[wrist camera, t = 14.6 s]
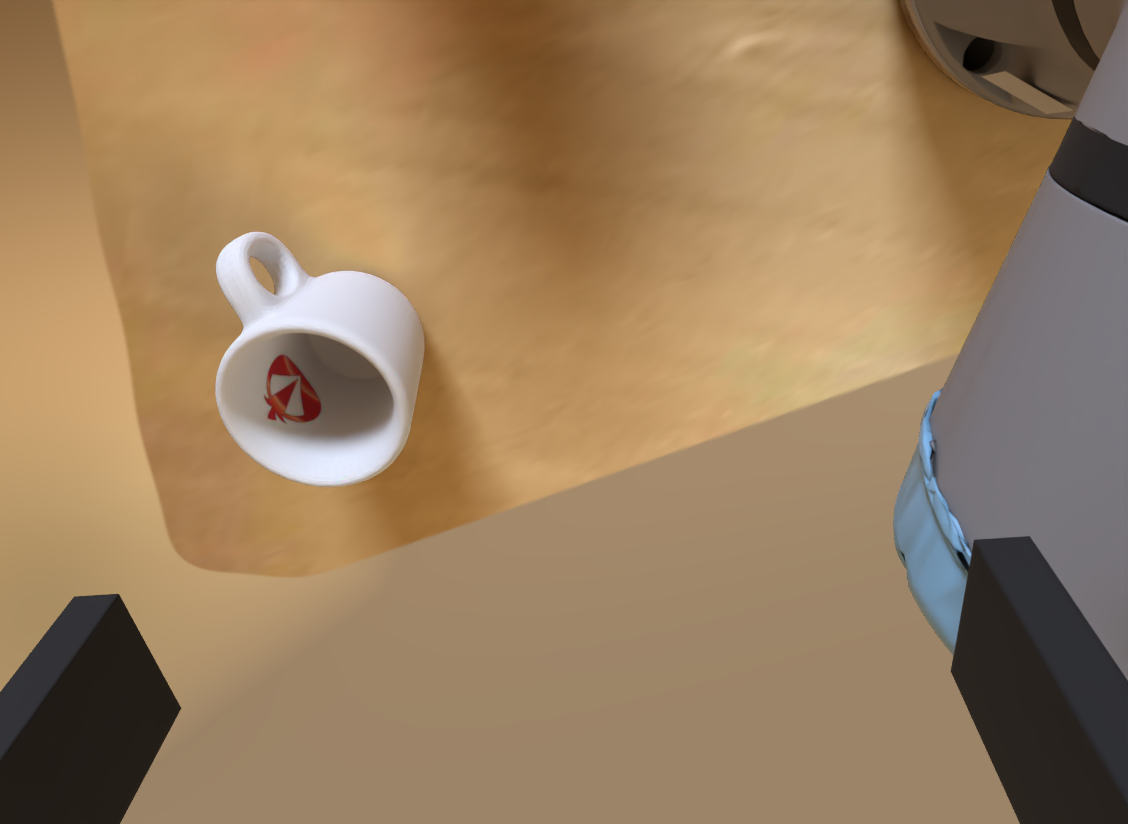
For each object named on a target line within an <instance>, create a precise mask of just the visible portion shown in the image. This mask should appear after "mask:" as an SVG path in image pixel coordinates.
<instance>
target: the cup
mask: <svg viewBox="0 0 1128 824" xmlns="http://www.w3.org/2000/svg"><path fill="white" fill-rule="evenodd" d="M250 256H251V257H254V258H256V259H257V260H259V261H260V262H261V263H262V264H263V265H264V266H265V268H266V269H267V270H268V272H269V274H270V276H271V278H272V280H273V283H274V289H275V290H274V294H272V293H270V292H268V291H267V290H266V289H265V288H264V287H263V286H262V285H261V284H260V283H259V282H258V280H257V279H256V277H255V275H254V274H253V271H252V269H251V266H250V262H249V260H250ZM216 274H217V279H218V282H219V285H220V287H221V289H222V291H223V293H224V295H225V296H226V298H227V300H228V301H229V303H230V305H231V306H232V307H233V309H234V310H235V312H236V313H237V315H238V316H239V318H240V319H241V321H242V323H243V327H244V328H243V331H242V333H241V335H240V336H239V337H238V338H237V339H236V340H235V341H234V342H233V343H232V344H231V346H230V347H229V348H228V350H227V351H226V353H225V355H224V356H223V359H222V361H221V363H220V365H219V369H218V372H217V377H216V388H215V389H216V400H217V405H218V409H219V413H220V415H221V418H222V420H223V423H224V425H225V427H226V428H227V430H228V432H229V434H230V435H231V436H232V438H233V439H234V440H235V442H236V443H237V444H238V446H239V447H240V448H241V449H242V450H243V451H244V452H245V453H246V454H247V455H248V456H250V457H251V458H252V459H253V460H254V461H255V462H257V463H258V464H260V465H261V466H263V467H264V468H266V469H267V470H269V471H271V472H273V473H274V474H276V475H279V476H281V477H283V478H285V479H288V480H291V481H294V482H297V483H301V484H305V485H310V486H317V487H342V486H348V485H354V484H357V483H360V482H363V481H366V480H368V479H370V478H372V477H374V476H376V475H378V474H379V473H381V472H382V471H384V470H385V469H386V468H387V467H389V466H390V465H391V464H392V463H393V462H394V461H395V459H396V458H397V457H398V455H399V454H400V453H401V451H402V449H403V448H404V446H405V444H406V441H407V439H408V436H409V433H410V429H411V424H412V418H413V413H414V408H415V402H416V397H417V392H418V387H419V381H420V376H421V371H422V365H423V359H424V349H425V344H424V333H423V328H422V325H421V322H420V319H419V317H418V314H417V312H416V311H415V309H414V307H413V306H412V304H411V303H410V302H409V300H408V299H407V298H406V297H405V296H404V295H403V294H402V293H401V292H400V291H399V290H398V289H397V288H395V287H394V286H393V285H391V284H390V283H388V282H386V281H385V280H382V279H380V278H378V277H376V276H373V275H370V274H367V273H362V272H356V271H339V272H332V273H328V274H324V275H322V276H319V277H317V278H314V277H310V276H309V275H308V274H307V273H306V272H305V271H304V270H303V269H302V267H301V266H300V264H299V263H298V262H297V260H296V259H295V257H294V256H293V255H292V254H291V252H290V251H289V250H288V249H287V247H286V246H285V245H284V244H283V243H282V242H281V241H279V240H278V239H277V238H275V237H274V236H272V235H270V234H267V233H265V232H251V233H247V234H244V235H242V236H240V237H238V238H236V239H234V240H233V241H232V242H230V243H229V244H228V245H226V247H225V248H224V249H223V250H222V251H221V253H220V255H219V257H218V259H217V263H216Z"/></svg>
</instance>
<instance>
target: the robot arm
mask: <svg viewBox="0 0 1128 824" xmlns="http://www.w3.org/2000/svg"><path fill="white" fill-rule="evenodd" d="M899 2H900V5H901V8H902V10H903V13H904V16H905V18H906V21H907V23H908V25H909V27H910V29H911V31H912V33H913V35H914V37H915V38H916V40H917V41H918V43H919V44H920V46H921V47H922V49H923V50H924V52H925V53H926V54H927V56H928V57H929V58H930V59H931V60H932V61H933V62H934V64H935V65H936V66H937V67H938V68H939V69H940V70H941V71H942V72H944V73H945V74H946V75H947V76H948V77H949V78H950V79H952V80H953V81H955V82H956V83H957V84H959V85H960V86H962V87H963V88H965V89H967V90H969V91H970V92H972V93H974V94H976V95H978V96H980V97H982V98H984V99H986V100H988V101H990V102H992V103H994V104H996V105H998V106H1001V107H1004V108H1006V109H1009V110H1011V111H1014V112H1018V113H1022V114H1026V115H1030V116H1035V117H1042V118H1049V119H1073V120H1072V122H1071V124H1070V126H1069V128H1068V130H1067V132H1066V134H1065V137H1064V139H1063V141H1062V143H1061V145H1060V147H1059V149H1058V151H1057V153H1056V155H1055V158H1054V160H1053V162H1052V164H1051V165H1050V166H1049V168H1048V170H1047V172H1046V174H1045V176H1044V179H1043V181H1042V183H1041V185H1040V187H1039V189H1038V191H1037V193H1036V195H1035V197H1034V200H1033V202H1032V204H1031V206H1030V208H1029V210H1028V212H1027V214H1026V216H1025V218H1024V220H1023V222H1022V225H1021V227H1020V229H1019V231H1018V233H1017V235H1016V237H1015V239H1014V241H1013V243H1012V245H1011V247H1010V250H1009V252H1008V254H1007V256H1006V258H1005V260H1004V262H1003V264H1002V266H1001V268H1000V270H999V272H998V275H997V277H996V279H995V281H994V283H993V285H992V287H991V289H990V291H989V293H988V295H987V297H986V300H985V302H984V304H983V306H982V308H981V310H980V312H979V314H978V316H977V318H976V320H975V322H974V324H973V327H972V329H971V331H970V333H969V335H968V337H967V339H966V341H965V343H964V345H963V347H962V349H961V352H960V354H959V356H958V358H957V360H956V362H955V364H954V366H953V368H952V370H951V372H950V375H949V377H948V379H947V381H946V383H945V385H944V387H943V388H942V389H941V390H939V391H937V392H935V393H934V394H933V396H932V398H931V399H930V401H929V403H928V404H927V406H926V409H925V411H924V414H923V417H922V421H921V427H920V433H919V442H918V445H917V447H916V450H915V452H914V455H913V457H912V460H911V463H910V465H909V467H908V470H907V472H906V475H905V477H904V480H903V482H902V485H901V487H900V490H899V493H898V495H897V499H896V504H895V509H894V520H893V525H894V540H895V547H896V550H897V553H898V555H899V558H900V560H901V562H902V564H903V565H904V567H905V568H906V570H907V580H908V586H909V588H910V591H911V593H912V595H913V598H914V599H915V601H916V603H917V605H918V606H919V608H920V610H921V612H922V613H923V615H924V616H925V618H926V619H927V621H928V623H929V624H930V626H931V627H932V629H933V630H934V631H935V633H936V634H937V636H938V637H939V638H940V639H941V641H942V642H943V643H944V645H945V646H946V647H947V648H948V650H949V651H950V652H951V653H952V654H953V656H954V657H953V662H952V667H951V673H952V675H953V677H954V679H955V681H956V684H957V686H958V688H959V690H960V692H961V695H962V697H963V699H964V701H965V704H966V705H967V708H968V710H969V712H970V715H971V717H972V719H973V721H974V723H975V726H976V728H977V730H978V732H979V734H980V736H981V739H982V741H983V743H984V745H985V748H986V750H987V752H988V754H989V756H990V759H991V761H992V763H993V765H994V767H995V770H996V772H997V774H998V776H999V778H1000V781H1001V783H1002V785H1003V787H1004V789H1005V792H1006V794H1007V796H1008V798H1009V800H1010V803H1011V805H1012V807H1013V809H1014V811H1015V814H1016V815H1017V818H1018V820H1019V823H1020V824H1128V0H899ZM180 710H181V707H180V705H179V703H178V702H177V700H176V698H175V696H174V694H173V692H172V691H171V689H170V687H169V685H168V683H167V681H166V680H165V678H164V676H163V674H162V673H161V671H160V669H159V667H158V665H157V663H156V661H155V659H154V658H153V656H152V654H151V652H150V650H149V649H148V647H147V645H146V643H145V641H144V639H143V637H142V636H141V634H140V632H139V630H138V628H137V627H136V625H135V623H134V621H133V619H132V618H131V616H130V614H129V612H128V610H127V608H126V606H125V604H124V603H123V601H122V599H121V597H120V595H119V594H110V595H94V596H78V597H74V598H73V599H72V600H71V602H70V603H69V604H68V605H67V607H66V608H65V609H64V611H63V612H62V613H61V614H60V616H59V617H58V618H57V620H56V621H55V622H54V623H53V625H52V626H51V627H50V629H49V630H48V631H47V632H46V634H45V635H44V636H43V638H42V639H41V640H40V642H39V643H38V644H37V645H36V647H35V648H34V649H33V651H32V652H31V653H30V654H29V656H28V657H27V659H26V660H25V661H24V662H23V664H22V665H21V666H20V667H19V669H18V670H17V671H16V673H15V674H14V675H13V677H12V678H11V679H10V680H9V682H8V683H7V684H6V686H5V687H4V688H3V689H2V691H1V692H0V824H120V822H121V821H122V819H123V817H124V815H125V813H126V811H127V809H128V807H129V806H130V804H131V802H132V800H133V798H134V796H135V794H136V792H137V790H138V789H139V787H140V785H141V783H142V781H143V779H144V777H145V775H146V773H147V772H148V770H149V768H150V766H151V764H152V762H153V760H154V758H155V756H156V755H157V753H158V751H159V749H160V747H161V745H162V743H163V742H164V739H165V738H166V736H167V734H168V732H169V730H170V728H171V726H172V725H173V723H174V721H175V719H176V717H177V715H178V713H179V711H180Z"/></svg>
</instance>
